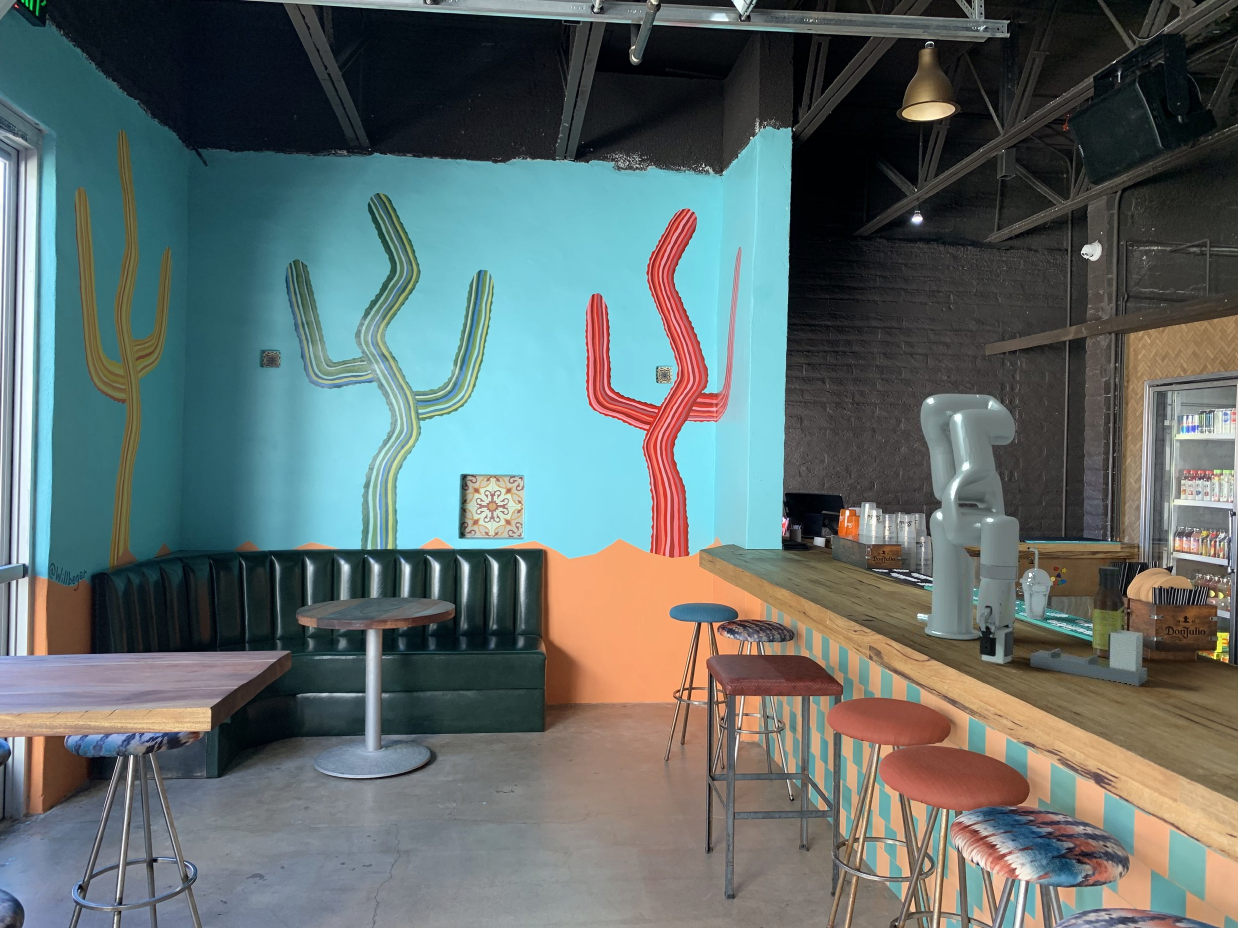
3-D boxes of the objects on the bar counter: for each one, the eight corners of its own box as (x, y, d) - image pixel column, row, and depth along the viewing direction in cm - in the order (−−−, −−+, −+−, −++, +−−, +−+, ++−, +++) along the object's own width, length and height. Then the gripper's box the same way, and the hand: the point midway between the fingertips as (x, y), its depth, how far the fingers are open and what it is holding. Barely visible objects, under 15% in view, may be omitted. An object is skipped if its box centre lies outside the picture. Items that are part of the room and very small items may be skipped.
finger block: (981, 659, 182) (982, 627, 182) (990, 656, 185) (991, 624, 185) (1005, 664, 178) (1006, 631, 178) (1013, 660, 182) (1014, 628, 182)
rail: (1030, 666, 177) (1031, 621, 177) (1040, 661, 181) (1041, 617, 181) (1138, 686, 163) (1139, 637, 163) (1146, 680, 167) (1148, 633, 167)
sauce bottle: (1128, 660, 184) (1131, 570, 184) (1097, 658, 185) (1100, 568, 185) (1117, 653, 191) (1119, 566, 190) (1087, 651, 192) (1089, 565, 192)
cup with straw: (1059, 620, 229) (1061, 547, 229) (1031, 621, 227) (1033, 547, 227) (1037, 614, 238) (1039, 544, 237) (1009, 615, 235) (1011, 544, 235)
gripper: (997, 567, 191) (995, 643, 191) (964, 574, 178) (962, 654, 179) (1031, 571, 185) (1029, 649, 185) (1000, 578, 173) (998, 661, 173)
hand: (996, 651), depth 182 cm, fingers open, 9 cm apart
